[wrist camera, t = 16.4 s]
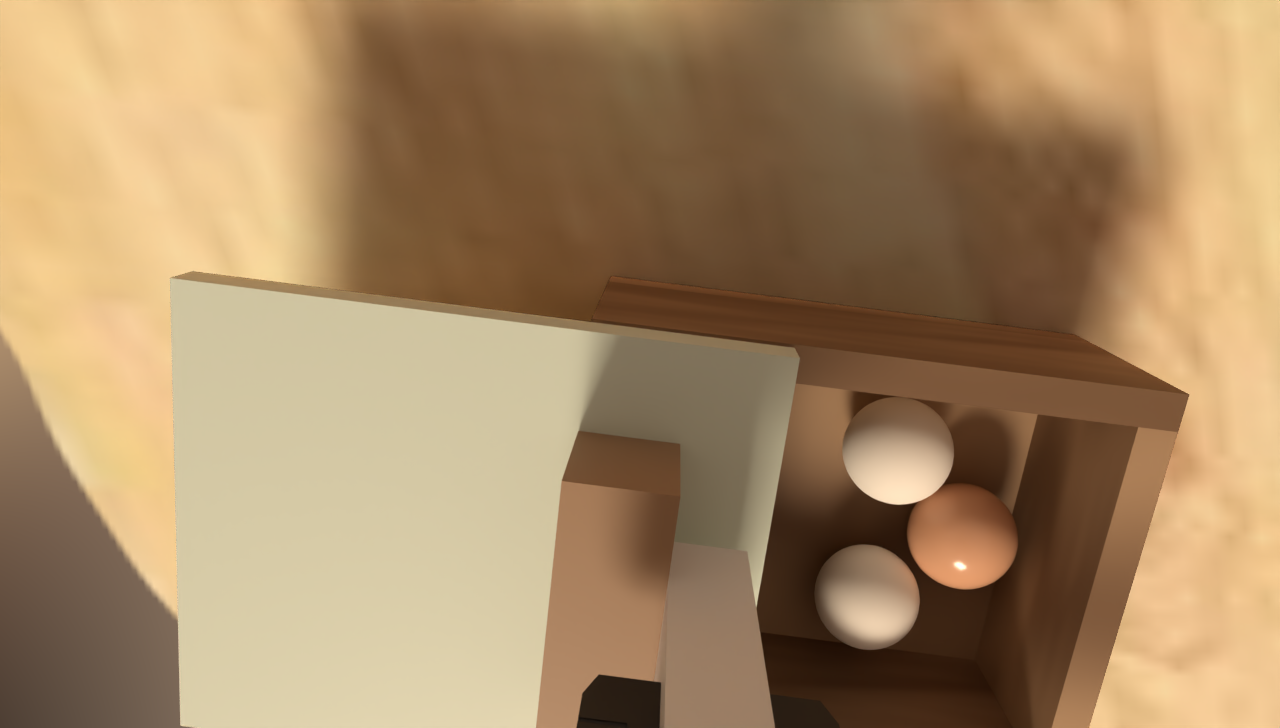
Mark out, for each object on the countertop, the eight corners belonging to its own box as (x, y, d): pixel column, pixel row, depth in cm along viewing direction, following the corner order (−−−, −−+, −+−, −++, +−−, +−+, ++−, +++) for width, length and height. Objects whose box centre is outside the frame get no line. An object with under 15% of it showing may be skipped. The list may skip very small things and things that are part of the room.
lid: (192, 271, 17) (83, 303, 14) (794, 347, 17) (820, 397, 14) (199, 702, 20) (108, 811, 17) (721, 771, 20) (729, 894, 17)
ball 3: (906, 461, 23) (934, 502, 20) (1006, 474, 23) (1047, 517, 20) (887, 551, 23) (912, 602, 21) (983, 564, 23) (1020, 616, 21)
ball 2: (816, 521, 23) (833, 569, 21) (914, 534, 23) (942, 583, 21) (800, 607, 24) (814, 663, 21) (895, 619, 24) (920, 677, 21)
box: (611, 275, 23) (592, 318, 18) (1075, 334, 22) (1189, 394, 17) (573, 617, 25) (546, 739, 20) (987, 671, 25) (1065, 807, 20)
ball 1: (843, 377, 22) (865, 409, 20) (946, 390, 22) (979, 424, 20) (826, 472, 23) (844, 515, 20) (924, 485, 23) (955, 529, 20)
